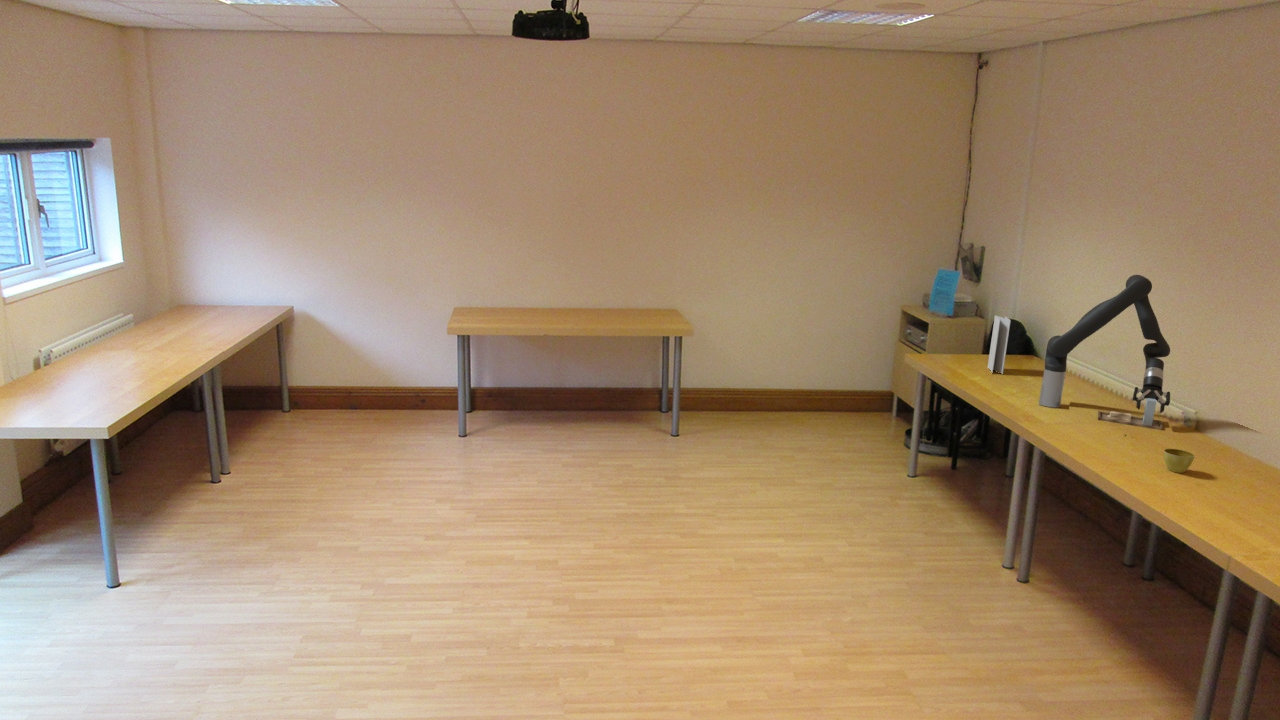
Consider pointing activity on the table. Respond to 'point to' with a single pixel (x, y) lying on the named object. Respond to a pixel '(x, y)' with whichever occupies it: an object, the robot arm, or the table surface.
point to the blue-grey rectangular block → (1149, 411)
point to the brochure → (999, 344)
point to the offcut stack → (1119, 416)
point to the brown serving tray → (1134, 421)
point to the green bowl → (1178, 460)
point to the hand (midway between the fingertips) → (1150, 410)
